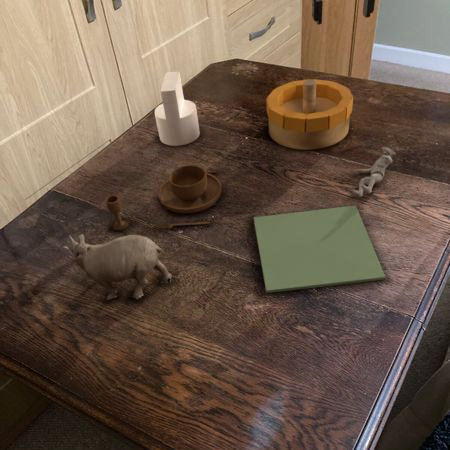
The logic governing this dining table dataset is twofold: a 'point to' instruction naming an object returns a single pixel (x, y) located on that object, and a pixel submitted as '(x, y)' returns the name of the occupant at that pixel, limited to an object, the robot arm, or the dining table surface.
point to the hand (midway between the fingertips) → (342, 19)
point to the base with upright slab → (176, 113)
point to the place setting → (179, 194)
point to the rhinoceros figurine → (119, 261)
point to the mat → (315, 249)
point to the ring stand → (307, 106)
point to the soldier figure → (374, 172)
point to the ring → (311, 120)
